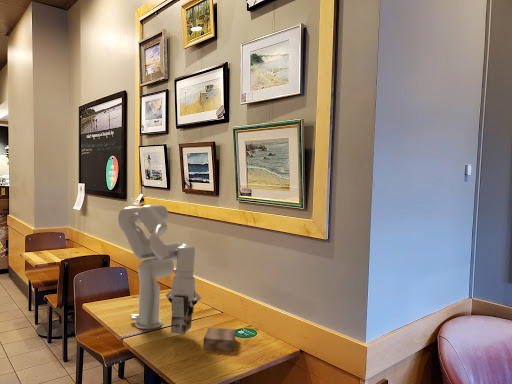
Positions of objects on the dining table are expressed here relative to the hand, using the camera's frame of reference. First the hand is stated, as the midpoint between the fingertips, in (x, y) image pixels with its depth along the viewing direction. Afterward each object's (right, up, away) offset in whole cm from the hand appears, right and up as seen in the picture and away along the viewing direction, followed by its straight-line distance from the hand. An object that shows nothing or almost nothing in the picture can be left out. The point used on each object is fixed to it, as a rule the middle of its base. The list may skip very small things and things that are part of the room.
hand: (182, 313), depth 171 cm
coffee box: (-1, -7, 0) cm, 8 cm away
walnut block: (+17, -13, -3) cm, 21 cm away
